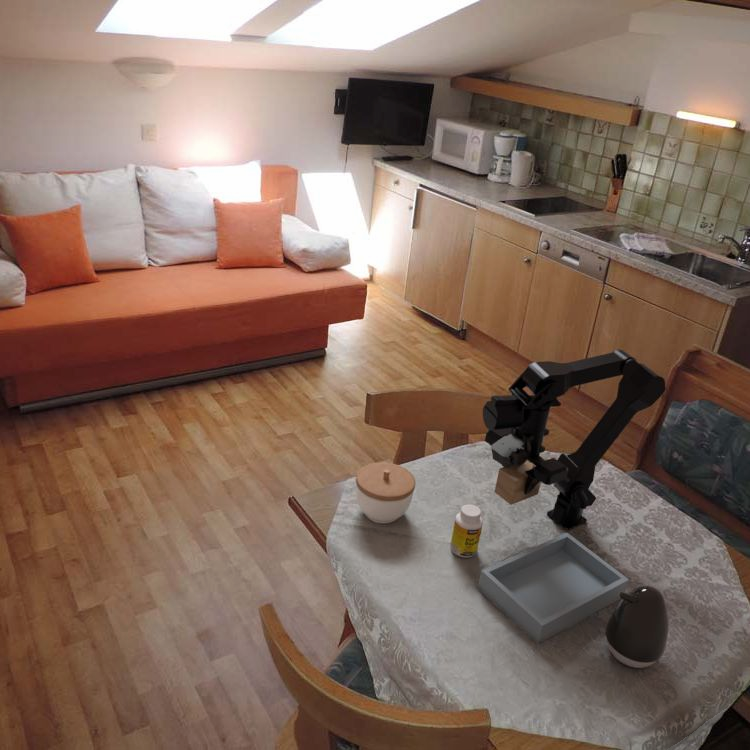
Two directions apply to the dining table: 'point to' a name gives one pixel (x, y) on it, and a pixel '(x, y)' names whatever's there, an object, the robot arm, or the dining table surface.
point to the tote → (552, 586)
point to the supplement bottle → (466, 531)
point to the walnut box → (514, 483)
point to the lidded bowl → (384, 491)
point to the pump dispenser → (639, 627)
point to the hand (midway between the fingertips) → (517, 487)
